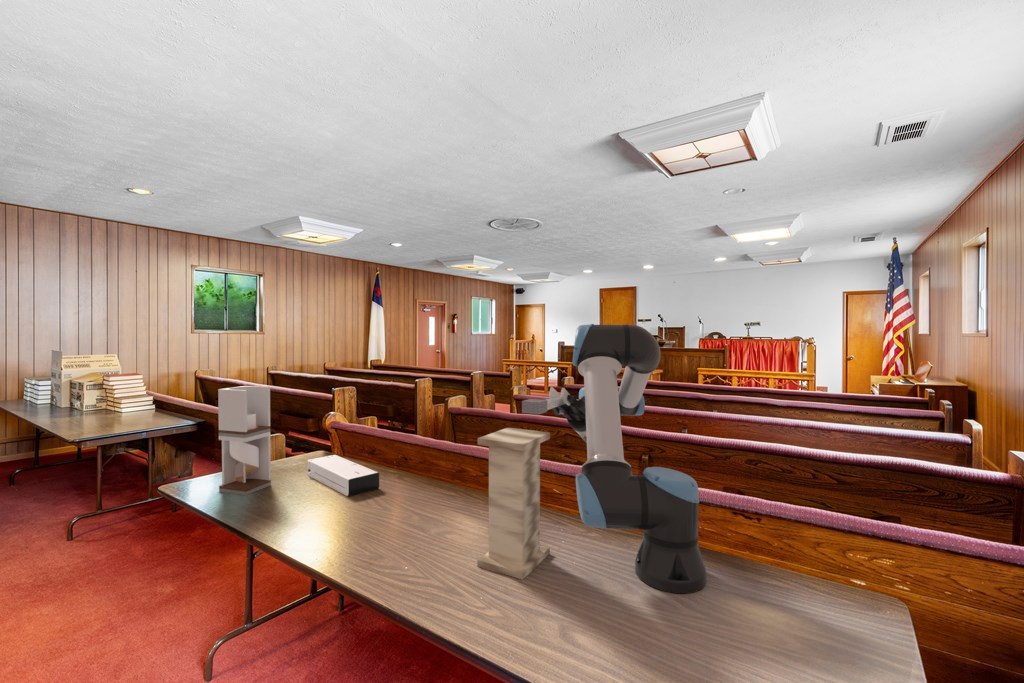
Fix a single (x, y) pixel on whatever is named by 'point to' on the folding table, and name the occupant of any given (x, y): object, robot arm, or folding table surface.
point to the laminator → (342, 475)
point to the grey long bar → (541, 405)
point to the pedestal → (514, 502)
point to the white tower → (245, 438)
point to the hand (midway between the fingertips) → (556, 391)
